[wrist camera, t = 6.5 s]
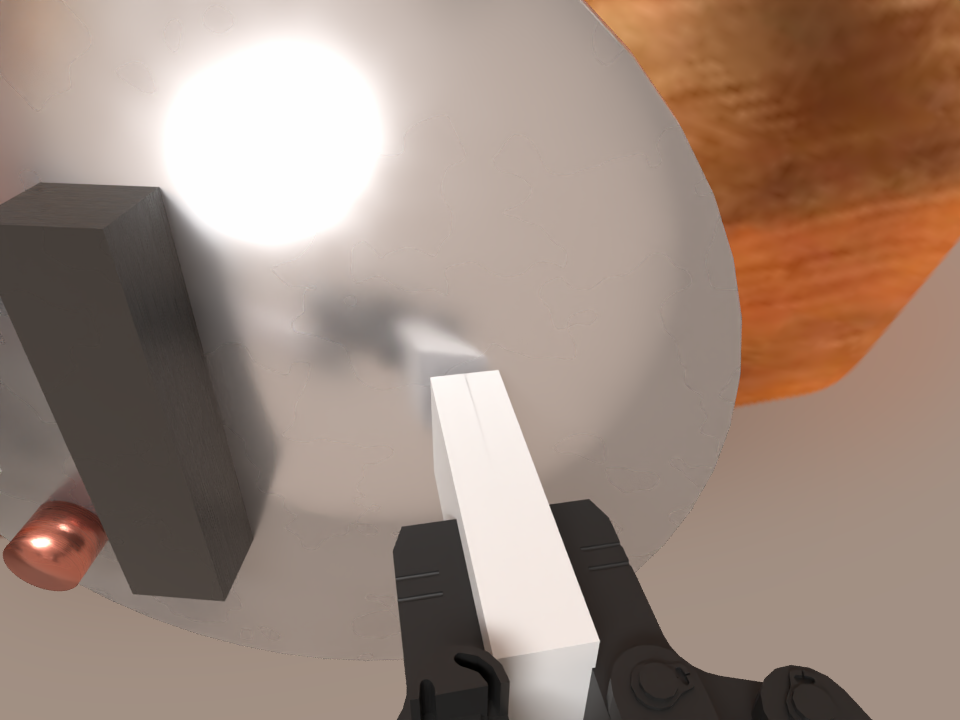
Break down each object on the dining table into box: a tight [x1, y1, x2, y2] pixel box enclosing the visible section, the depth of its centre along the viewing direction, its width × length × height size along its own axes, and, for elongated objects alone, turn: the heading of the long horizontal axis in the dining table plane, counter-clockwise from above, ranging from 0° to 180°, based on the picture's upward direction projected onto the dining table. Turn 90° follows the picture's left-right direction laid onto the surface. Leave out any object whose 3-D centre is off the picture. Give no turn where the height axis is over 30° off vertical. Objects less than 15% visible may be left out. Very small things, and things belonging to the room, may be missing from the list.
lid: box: [0, 0, 742, 661], centre depth 15 cm, size 22×21×3 cm
